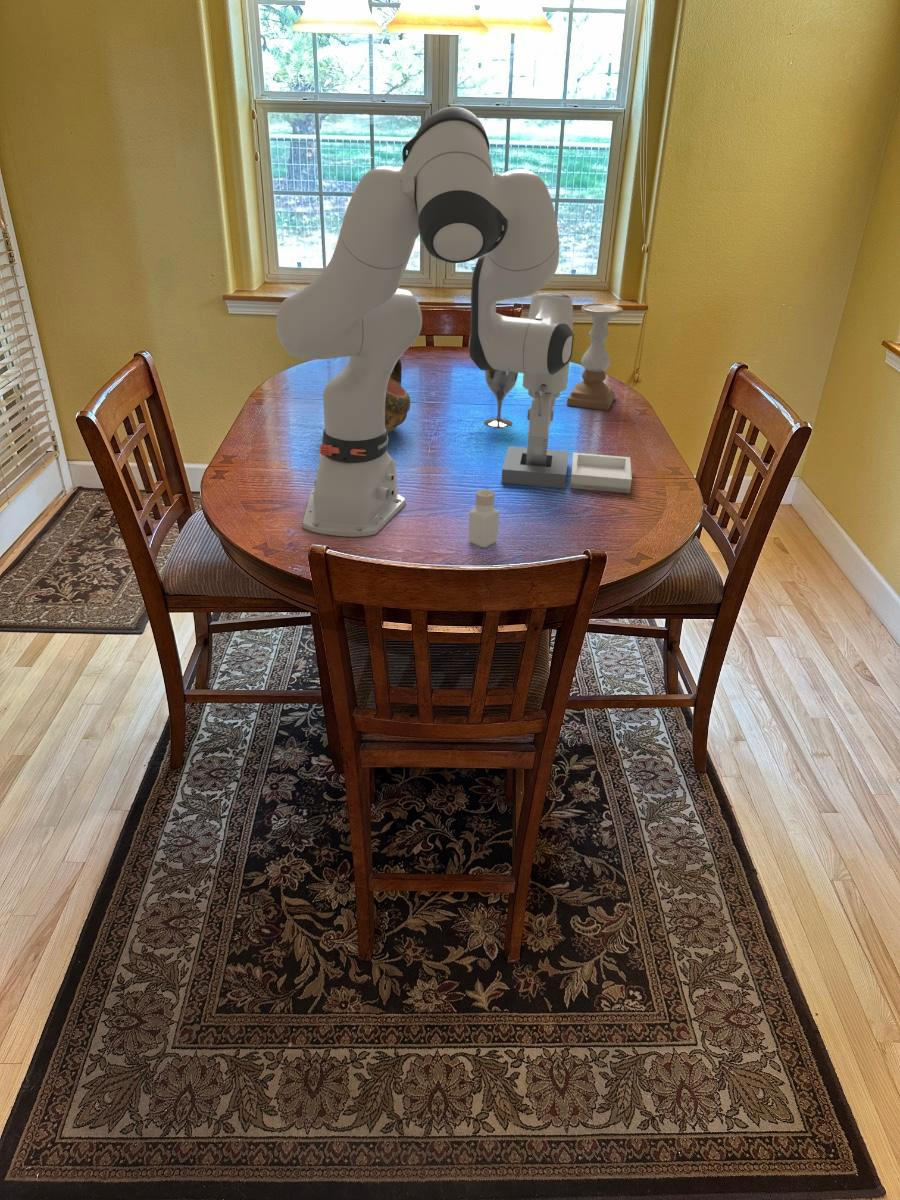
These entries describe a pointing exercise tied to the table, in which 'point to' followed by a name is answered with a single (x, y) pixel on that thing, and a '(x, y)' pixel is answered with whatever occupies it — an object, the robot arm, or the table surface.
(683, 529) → the table surface
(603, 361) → the candle holder
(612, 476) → the tray
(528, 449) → the pin
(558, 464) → the holder block
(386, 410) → the ceramic vessel
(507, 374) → the wine glass
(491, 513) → the pepper shaker
